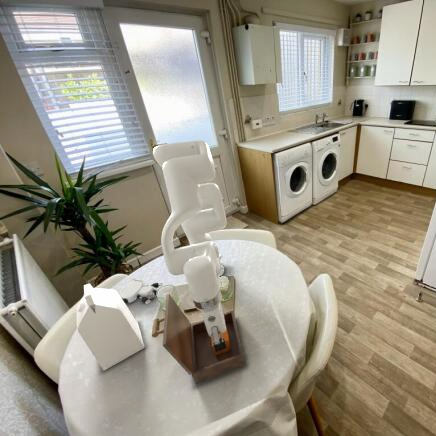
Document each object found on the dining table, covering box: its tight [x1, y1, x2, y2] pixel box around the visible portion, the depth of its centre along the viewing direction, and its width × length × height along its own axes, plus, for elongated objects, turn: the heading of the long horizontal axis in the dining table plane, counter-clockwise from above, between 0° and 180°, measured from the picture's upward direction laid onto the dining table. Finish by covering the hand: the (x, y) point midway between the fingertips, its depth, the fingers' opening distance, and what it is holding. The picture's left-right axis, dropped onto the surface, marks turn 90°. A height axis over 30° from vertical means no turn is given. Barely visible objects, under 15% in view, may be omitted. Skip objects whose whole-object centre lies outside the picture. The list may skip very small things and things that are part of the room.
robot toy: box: [118, 278, 163, 305], centre depth 99 cm, size 12×4×15 cm
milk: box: [75, 283, 145, 371], centre depth 75 cm, size 12×12×26 cm
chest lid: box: [151, 293, 192, 376], centre depth 69 cm, size 15×18×5 cm
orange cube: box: [211, 328, 231, 355], centre depth 78 cm, size 5×5×5 cm
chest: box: [191, 310, 246, 385], centre depth 78 cm, size 15×18×5 cm
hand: (219, 335), depth 76 cm, fingers open, 9 cm apart
